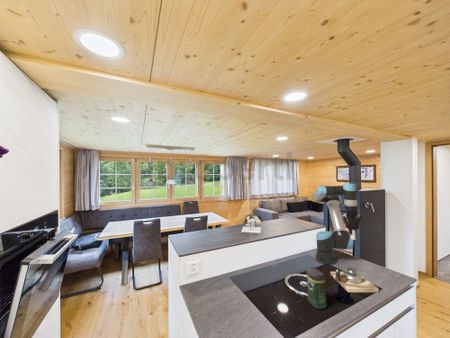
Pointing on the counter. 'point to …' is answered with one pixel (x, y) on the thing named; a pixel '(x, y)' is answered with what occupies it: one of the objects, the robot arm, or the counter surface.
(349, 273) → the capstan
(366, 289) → the stand
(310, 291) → the coffee jar
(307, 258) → the counter surface
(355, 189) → the robot arm
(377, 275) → the counter surface
